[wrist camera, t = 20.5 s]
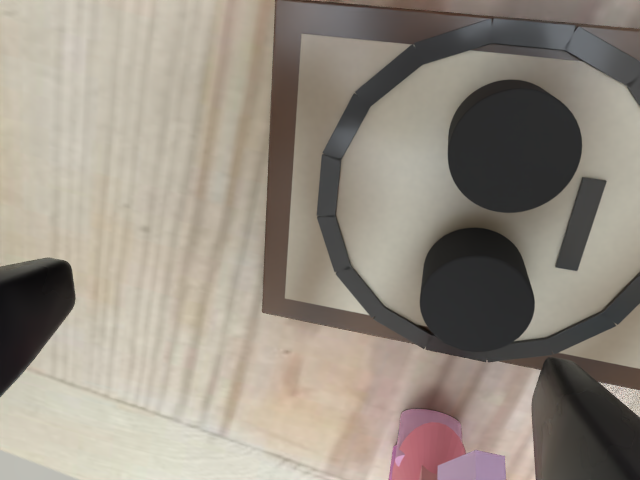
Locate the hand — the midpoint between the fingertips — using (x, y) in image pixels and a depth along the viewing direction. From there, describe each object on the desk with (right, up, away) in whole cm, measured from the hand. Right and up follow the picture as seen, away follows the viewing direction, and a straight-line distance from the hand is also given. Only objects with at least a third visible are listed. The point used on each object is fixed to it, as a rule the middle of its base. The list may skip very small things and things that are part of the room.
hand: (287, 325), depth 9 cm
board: (+7, +3, +9) cm, 11 cm away
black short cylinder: (+7, +5, +7) cm, 11 cm away
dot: (+6, 0, +9) cm, 11 cm away
